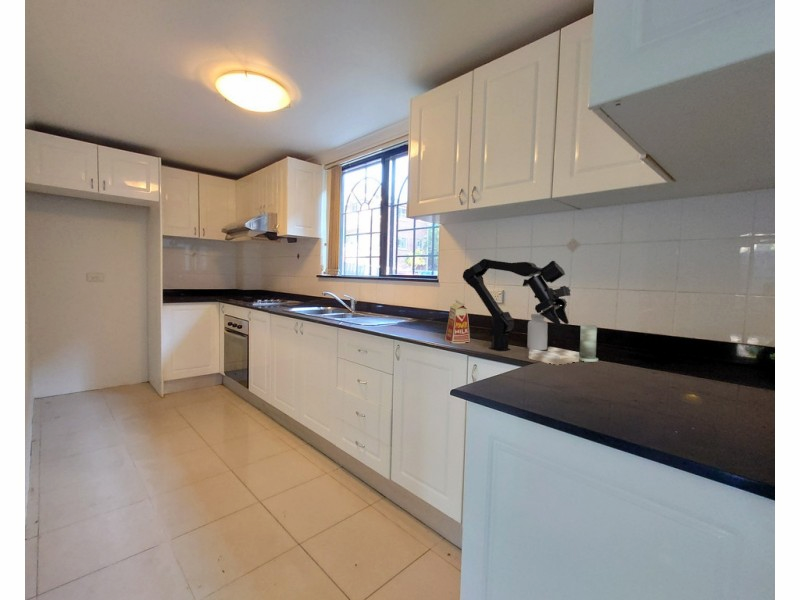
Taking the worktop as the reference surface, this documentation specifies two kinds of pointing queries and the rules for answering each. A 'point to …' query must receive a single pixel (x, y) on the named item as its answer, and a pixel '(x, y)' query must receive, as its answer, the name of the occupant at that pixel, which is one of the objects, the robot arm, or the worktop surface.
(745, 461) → the worktop surface
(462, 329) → the milk carton
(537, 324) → the pill bottle
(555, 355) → the mottled cream slab
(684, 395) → the worktop surface
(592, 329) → the pale green cylinder
